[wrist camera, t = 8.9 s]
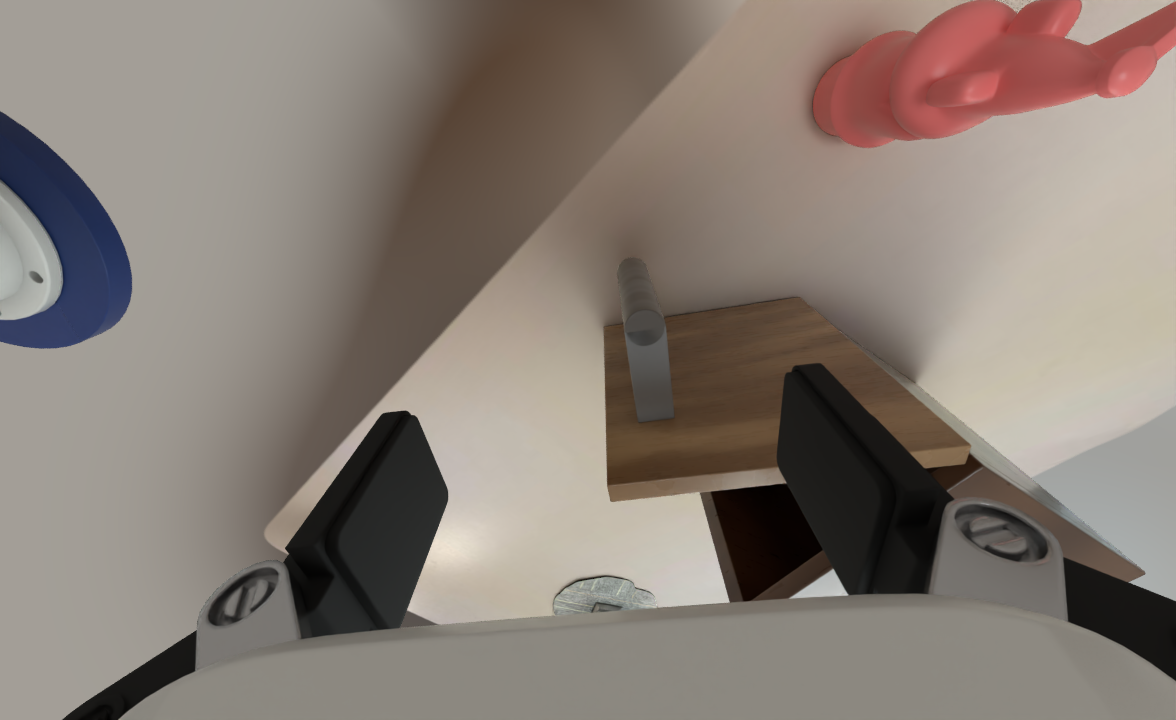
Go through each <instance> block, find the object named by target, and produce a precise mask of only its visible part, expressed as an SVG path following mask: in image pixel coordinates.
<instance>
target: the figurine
mask: <svg viewBox="0 0 1176 720" xmlns="http://www.w3.org/2000/svg"><path fill="white" fill-rule="evenodd" d="M1081 7H1082V3H1081V1H1080V0H1039V1H1035V2H1032V3H1030V4H1028V5H1026V6H1025V7H1024V8H1022V9H1021V10H1020V11H1019V13H1018V14H1017V13H1016V12H1015V11H1014V10H1013V9H1012V8H1010V7H1009V6H1007V5H1006V4H1004V3H1001V2H998V1H995V0H975V1H970V2H966V3H963V4H961V5H958V6H956V7H954V8H951V9H949V10H948V11H946V12H944V13H942V14H941V15H939V16H938V17H936V18H935V19H933V20H932V21H931V22H929V23H928V24H927V25H926V26H925V27H923V28H922V29H921V30H920V31H919V32H918V33H917V34H915V33H913V32H909V31H893V32H889V33H885V34H882V35H880V36H877V37H875V38H873V39H872V40H870V41H869V42H867V43H866V44H864V45H863V46H862V47H861V48H859V49H858V50H857V51H856V52H855V53H854V54H853V55H852V56H849V57H846V58H844V59H842V60H840V61H838V62H837V63H835V64H834V65H833V66H832V67H831V68H830V69H829V70H828V71H827V72H826V73H825V74H824V76H823V77H822V79H821V80H820V82H819V84H818V86H817V88H816V91H815V94H814V99H813V114H814V118H815V120H816V122H817V124H818V126H819V127H820V128H821V129H822V130H823V131H824V132H826V133H828V134H830V135H834V136H839V137H840V138H841V139H842V140H844V141H845V142H847V143H848V144H851V145H853V146H857V147H862V148H873V147H878V146H882V145H884V144H887V143H889V142H891V141H893V140H895V139H898V140H905V141H913V140H920V139H924V138H925V139H937V138H944V137H948V136H952V135H955V134H958V133H960V132H963V131H965V130H968V129H970V128H972V127H974V126H976V125H978V124H980V123H982V122H984V121H985V120H987V119H989V118H990V117H992V116H998V115H1011V114H1018V113H1023V112H1028V111H1032V110H1037V109H1042V108H1047V107H1052V106H1056V105H1060V104H1064V103H1068V102H1072V101H1075V100H1078V99H1082V98H1085V97H1088V96H1091V95H1094V94H1098V95H1099V96H1101V97H1103V98H1114V97H1121V96H1125V95H1128V94H1130V93H1132V92H1133V91H1135V90H1136V89H1138V88H1139V87H1140V86H1141V85H1142V84H1143V83H1144V82H1145V81H1146V80H1147V79H1148V78H1149V77H1150V75H1151V74H1152V72H1153V71H1154V69H1155V67H1156V64H1157V60H1158V59H1160V58H1161V57H1162V56H1163V55H1165V54H1166V53H1167V52H1168V51H1169V50H1171V49H1172V48H1173V47H1174V46H1175V45H1176V1H1175V2H1173V3H1171V4H1170V5H1168V6H1166V7H1164V8H1162V9H1160V10H1158V11H1156V12H1154V13H1153V14H1151V15H1149V16H1147V17H1145V18H1143V19H1141V20H1139V21H1137V22H1135V23H1133V24H1131V25H1129V26H1127V27H1125V28H1123V29H1121V30H1119V31H1117V32H1115V33H1113V34H1111V35H1109V36H1107V37H1105V38H1103V39H1101V40H1099V41H1097V42H1095V43H1093V44H1091V45H1084V44H1081V43H1079V42H1077V41H1074V40H1070V39H1066V38H1065V36H1066V35H1067V34H1068V32H1069V31H1070V29H1071V28H1072V27H1073V25H1074V24H1075V22H1076V20H1077V19H1078V17H1079V14H1080V12H1081Z"/></svg>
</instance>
